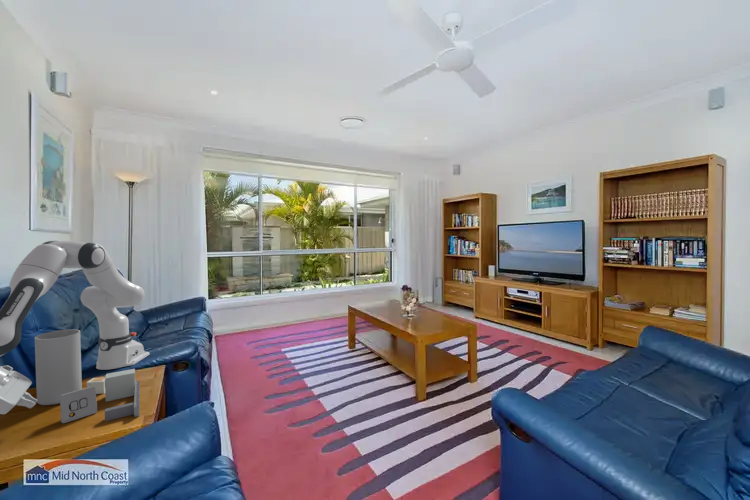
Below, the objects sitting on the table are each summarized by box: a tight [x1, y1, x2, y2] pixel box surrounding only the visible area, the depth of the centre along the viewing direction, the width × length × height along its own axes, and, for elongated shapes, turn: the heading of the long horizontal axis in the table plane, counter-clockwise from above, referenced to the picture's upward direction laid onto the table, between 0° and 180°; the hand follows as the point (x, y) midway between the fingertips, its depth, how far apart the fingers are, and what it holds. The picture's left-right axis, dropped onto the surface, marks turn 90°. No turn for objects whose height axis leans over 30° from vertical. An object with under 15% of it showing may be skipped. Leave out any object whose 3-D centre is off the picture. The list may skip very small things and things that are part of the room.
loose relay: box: [85, 376, 106, 395], centre depth 131 cm, size 4×6×5 cm, turn 101°
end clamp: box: [104, 401, 134, 422], centre depth 113 cm, size 2×8×4 cm, turn 126°
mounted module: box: [104, 368, 136, 403], centre depth 127 cm, size 5×9×9 cm, turn 126°
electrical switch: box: [59, 386, 98, 424], centre depth 113 cm, size 9×5×9 cm, turn 141°
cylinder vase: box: [34, 329, 83, 406], centre depth 125 cm, size 12×12×25 cm
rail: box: [133, 379, 141, 418], centre depth 123 cm, size 24×2×4 cm, turn 36°
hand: (34, 404), depth 107 cm, fingers closed
